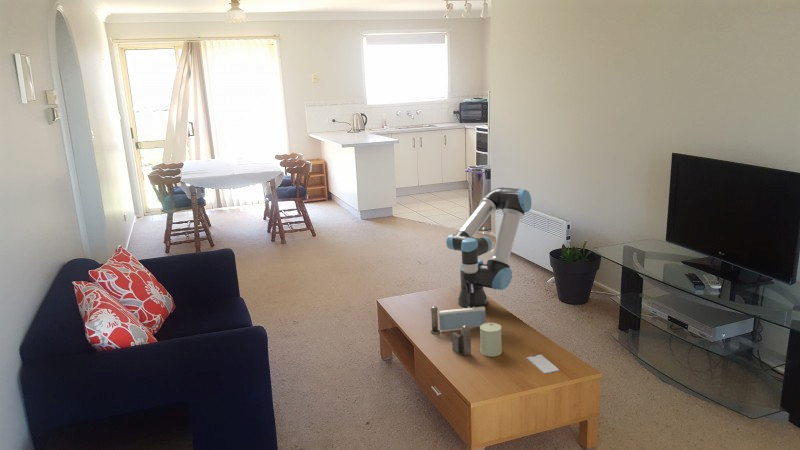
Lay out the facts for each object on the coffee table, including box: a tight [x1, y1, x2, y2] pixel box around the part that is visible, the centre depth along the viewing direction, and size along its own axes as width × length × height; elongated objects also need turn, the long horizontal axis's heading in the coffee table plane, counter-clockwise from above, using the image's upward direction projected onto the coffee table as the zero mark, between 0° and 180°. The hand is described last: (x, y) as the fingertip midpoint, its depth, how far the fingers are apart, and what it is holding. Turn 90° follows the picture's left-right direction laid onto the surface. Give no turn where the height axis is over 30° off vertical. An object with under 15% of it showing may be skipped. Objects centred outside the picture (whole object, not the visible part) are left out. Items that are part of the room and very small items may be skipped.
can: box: [479, 322, 503, 358], centre depth 248 cm, size 9×9×12 cm
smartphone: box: [526, 353, 561, 375], centre depth 236 cm, size 7×1×15 cm
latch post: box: [451, 325, 472, 357], centre depth 249 cm, size 5×8×13 cm, turn 27°
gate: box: [438, 306, 487, 331], centre depth 272 cm, size 22×2×9 cm, turn 97°
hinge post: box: [429, 306, 441, 335], centre depth 270 cm, size 4×4×13 cm
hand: (471, 317), depth 279 cm, fingers closed
